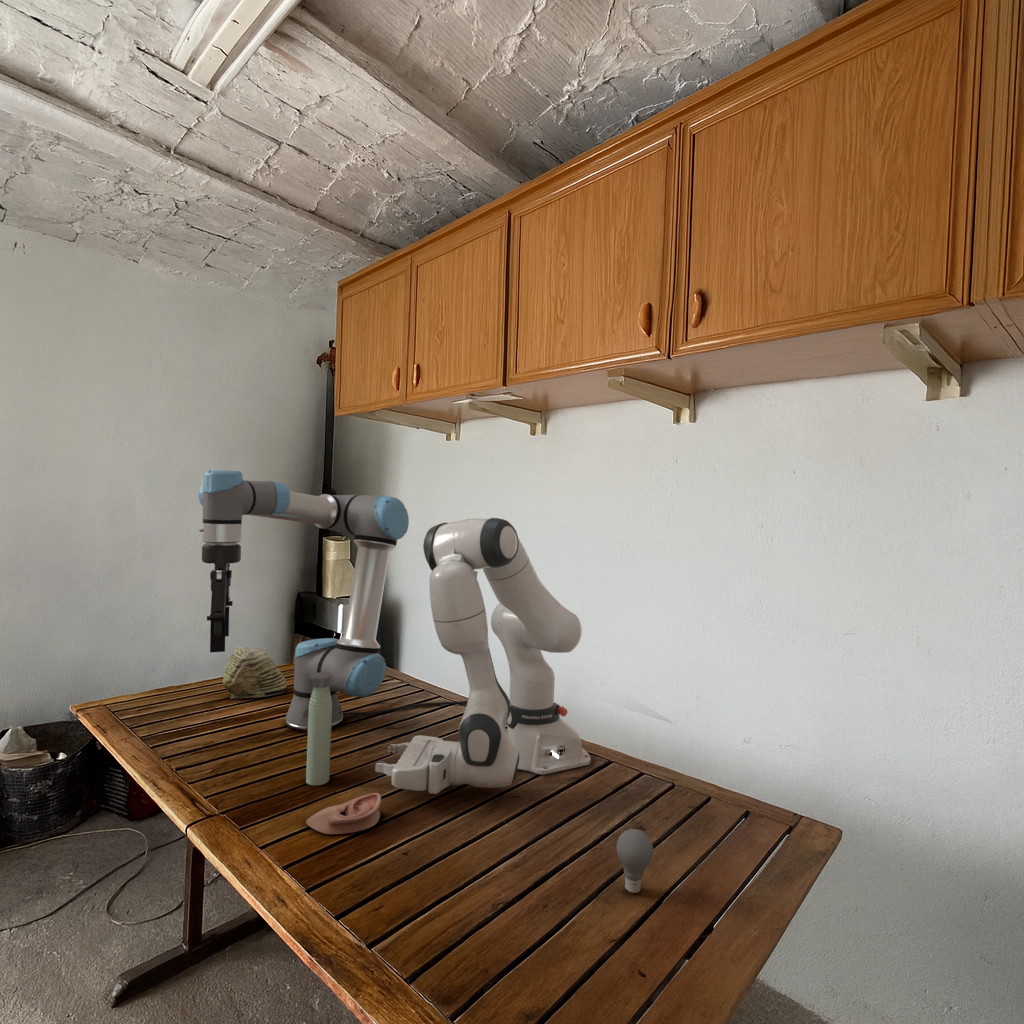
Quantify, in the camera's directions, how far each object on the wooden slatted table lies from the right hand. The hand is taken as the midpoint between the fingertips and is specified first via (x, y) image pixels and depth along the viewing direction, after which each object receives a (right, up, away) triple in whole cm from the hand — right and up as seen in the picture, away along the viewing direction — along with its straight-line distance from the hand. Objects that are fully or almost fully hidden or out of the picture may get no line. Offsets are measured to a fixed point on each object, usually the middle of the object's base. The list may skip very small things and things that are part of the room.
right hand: (382, 757), depth 139 cm
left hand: (-33, +26, -5) cm, 43 cm away
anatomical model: (-5, -7, -15) cm, 17 cm away
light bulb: (+49, -9, -34) cm, 60 cm away
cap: (-14, +17, +1) cm, 22 cm away
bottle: (-15, -6, +2) cm, 16 cm away
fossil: (-52, -3, +59) cm, 79 cm away
